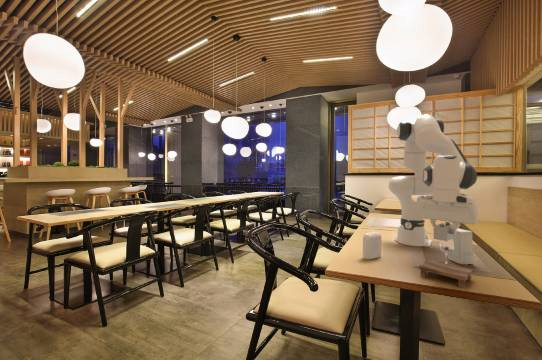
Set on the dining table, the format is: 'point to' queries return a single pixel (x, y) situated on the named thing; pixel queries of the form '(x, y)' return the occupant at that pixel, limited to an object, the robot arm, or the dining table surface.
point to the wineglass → (447, 247)
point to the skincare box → (462, 247)
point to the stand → (446, 271)
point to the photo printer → (371, 245)
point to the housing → (444, 231)
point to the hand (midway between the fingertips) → (444, 232)
